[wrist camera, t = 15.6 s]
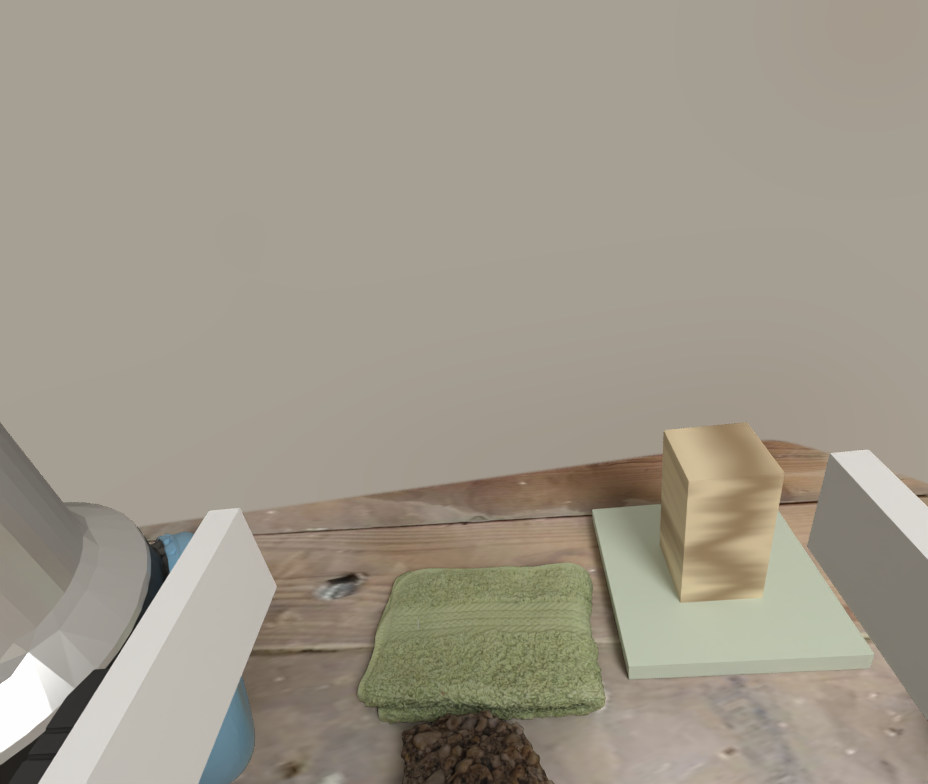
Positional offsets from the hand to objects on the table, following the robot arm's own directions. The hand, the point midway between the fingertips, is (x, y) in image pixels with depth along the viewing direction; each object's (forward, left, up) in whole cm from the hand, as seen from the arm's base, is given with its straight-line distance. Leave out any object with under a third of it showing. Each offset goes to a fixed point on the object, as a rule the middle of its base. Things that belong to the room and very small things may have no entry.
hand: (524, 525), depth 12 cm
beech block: (+13, +22, -28) cm, 38 cm away
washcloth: (-5, +18, -30) cm, 35 cm away
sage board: (+13, +22, -29) cm, 39 cm away
